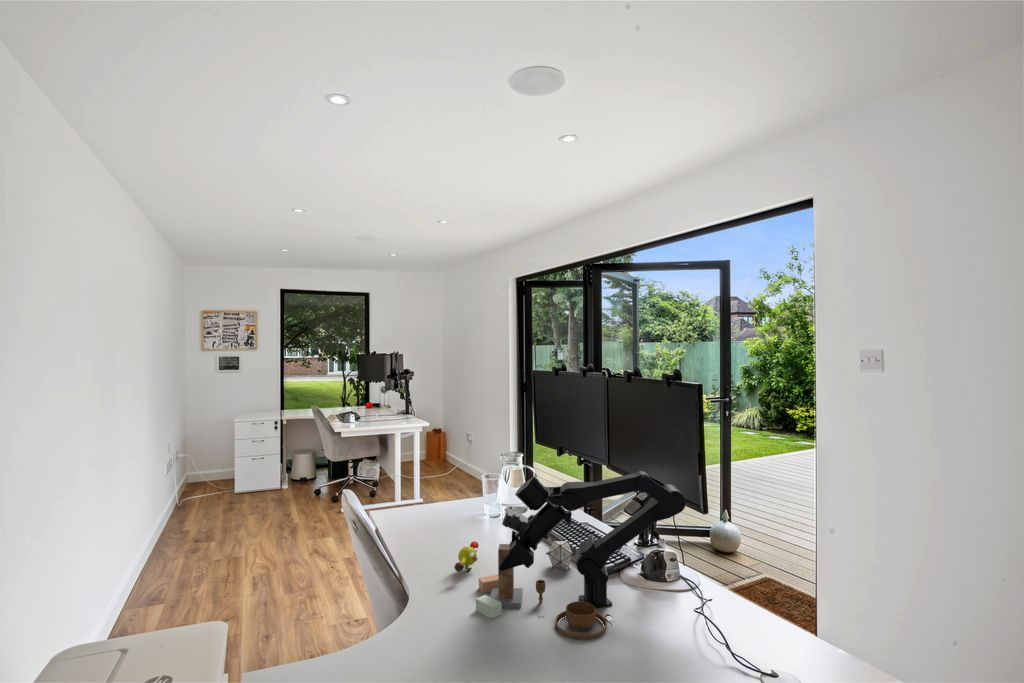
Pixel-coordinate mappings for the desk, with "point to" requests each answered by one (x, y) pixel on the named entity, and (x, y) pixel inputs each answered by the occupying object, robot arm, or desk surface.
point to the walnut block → (505, 574)
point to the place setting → (576, 615)
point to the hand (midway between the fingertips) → (500, 565)
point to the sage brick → (489, 606)
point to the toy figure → (467, 557)
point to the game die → (560, 554)
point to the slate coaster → (509, 603)
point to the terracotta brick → (488, 583)
